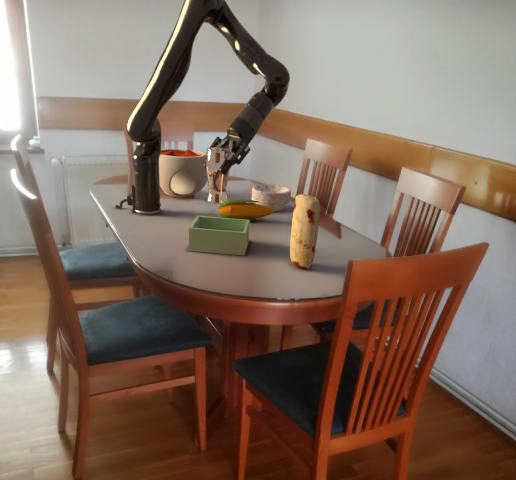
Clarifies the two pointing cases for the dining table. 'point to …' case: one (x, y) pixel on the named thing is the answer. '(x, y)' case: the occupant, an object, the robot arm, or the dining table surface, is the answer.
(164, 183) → the pot
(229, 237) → the tub
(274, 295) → the dining table surface
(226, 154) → the beer glass
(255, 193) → the paper bowls
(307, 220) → the food model
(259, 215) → the corn
